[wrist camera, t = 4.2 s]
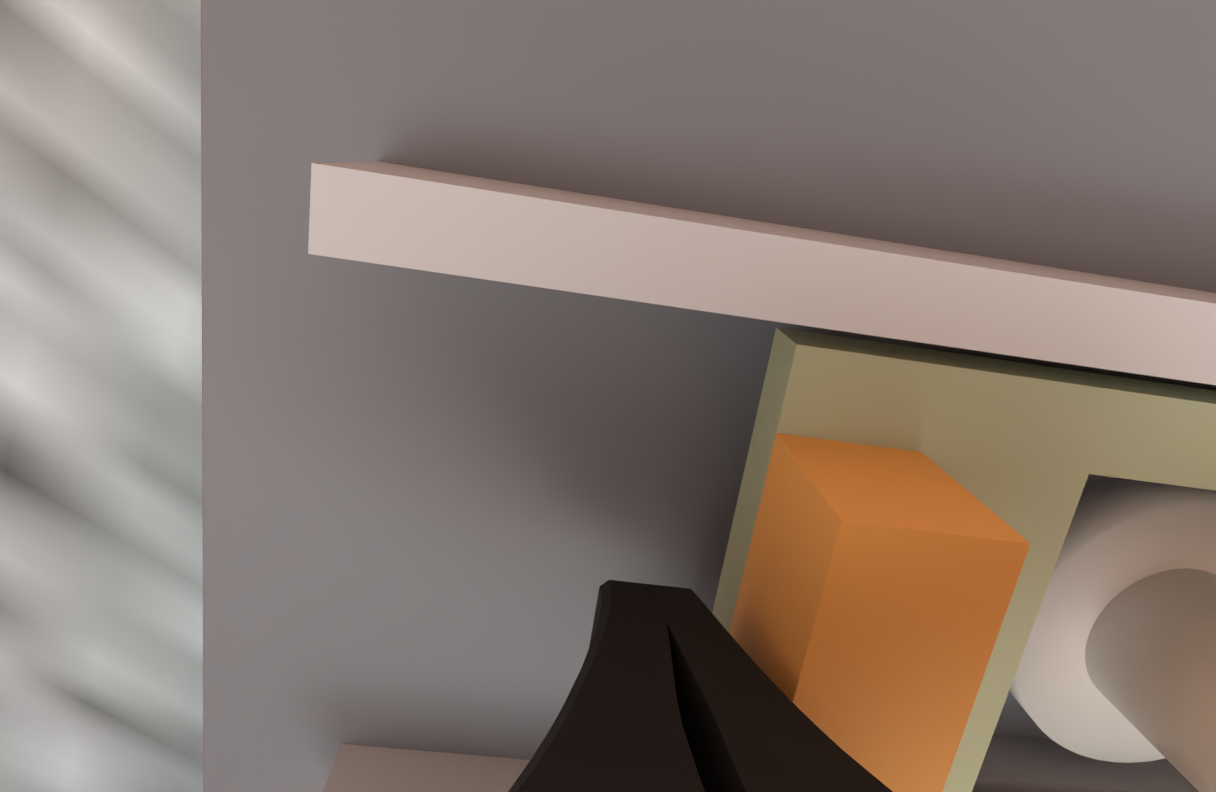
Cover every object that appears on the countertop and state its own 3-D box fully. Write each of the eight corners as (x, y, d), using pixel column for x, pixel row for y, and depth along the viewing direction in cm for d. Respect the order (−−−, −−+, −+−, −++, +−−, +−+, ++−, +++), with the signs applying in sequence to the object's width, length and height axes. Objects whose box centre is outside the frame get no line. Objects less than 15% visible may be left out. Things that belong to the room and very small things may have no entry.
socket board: (1266, 963, 19) (1443, 1168, 15) (225, 893, 17) (121, 1114, 13) (1737, 117, 13) (2221, 100, 9) (232, -176, 11) (48, -360, 7)
